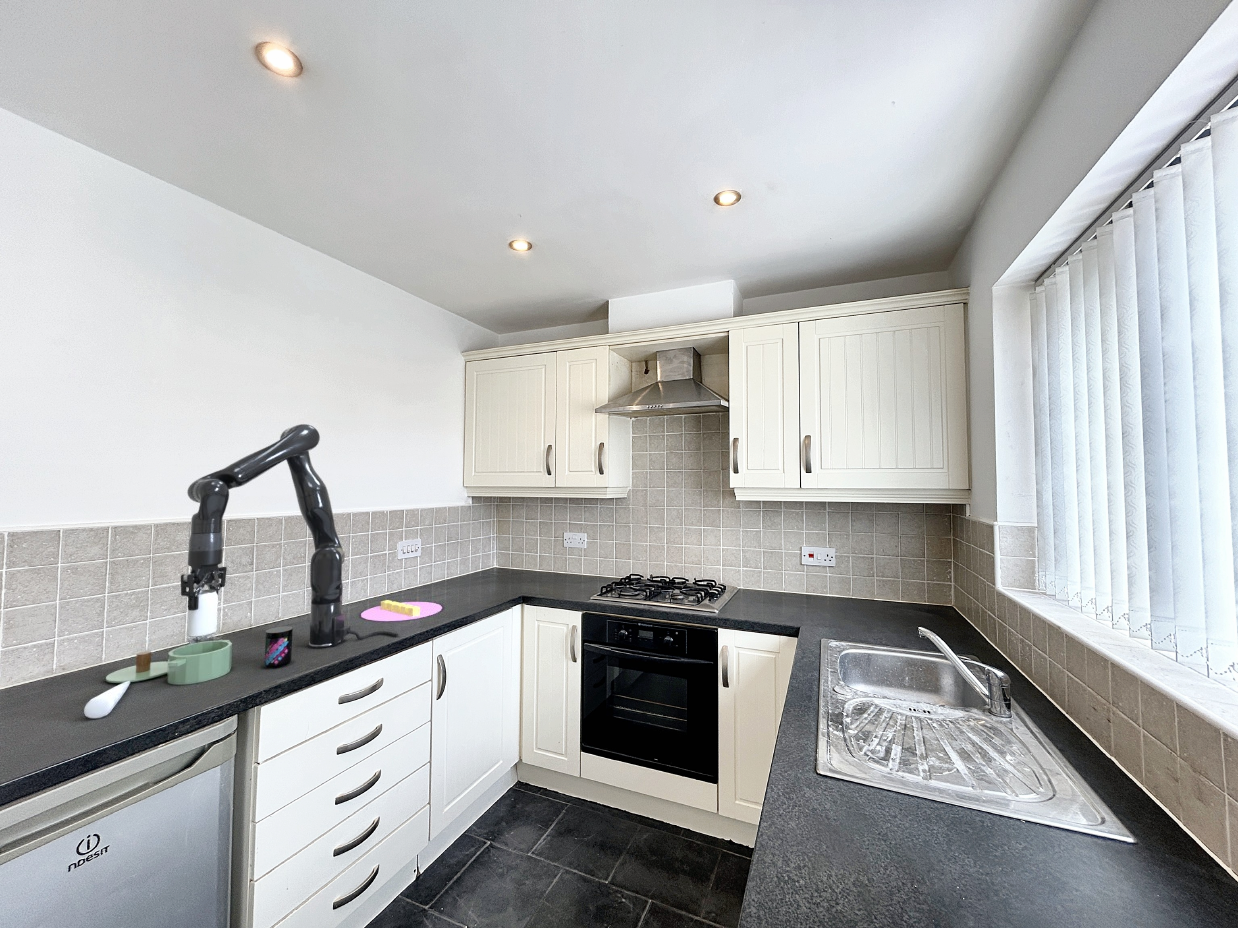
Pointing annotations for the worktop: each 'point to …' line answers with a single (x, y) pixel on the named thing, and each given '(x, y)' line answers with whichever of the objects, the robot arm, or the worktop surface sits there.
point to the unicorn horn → (105, 702)
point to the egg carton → (203, 639)
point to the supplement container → (278, 647)
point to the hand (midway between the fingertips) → (203, 606)
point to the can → (203, 615)
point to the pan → (199, 662)
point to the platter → (400, 611)
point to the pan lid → (139, 670)
